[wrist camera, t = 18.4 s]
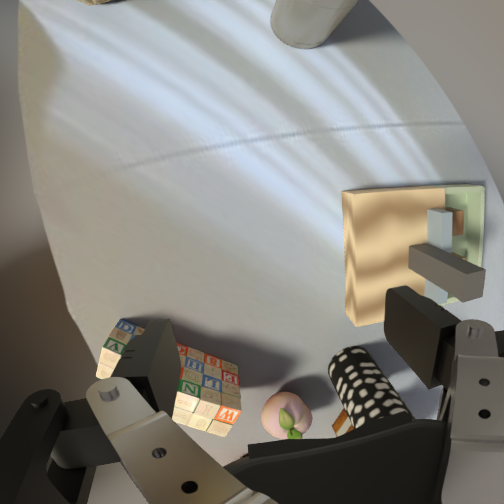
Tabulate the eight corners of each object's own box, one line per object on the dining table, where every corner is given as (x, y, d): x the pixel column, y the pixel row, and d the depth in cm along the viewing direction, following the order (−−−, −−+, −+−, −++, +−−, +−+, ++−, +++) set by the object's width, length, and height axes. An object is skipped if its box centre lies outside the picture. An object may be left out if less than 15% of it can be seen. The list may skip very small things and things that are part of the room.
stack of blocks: (111, 346, 50) (87, 387, 39) (120, 317, 49) (95, 356, 37) (224, 390, 54) (225, 438, 42) (239, 364, 53) (242, 412, 41)
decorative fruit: (248, 394, 54) (252, 432, 45) (287, 372, 54) (298, 409, 44) (275, 421, 57) (282, 458, 47) (311, 402, 56) (324, 438, 46)
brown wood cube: (446, 212, 44) (463, 210, 44) (432, 208, 48) (449, 207, 48) (446, 236, 45) (463, 234, 45) (432, 232, 49) (449, 229, 49)
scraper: (408, 210, 43) (469, 229, 29) (437, 208, 43) (499, 224, 30) (406, 299, 46) (456, 340, 33) (433, 293, 47) (485, 330, 33)
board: (341, 191, 47) (353, 193, 42) (427, 185, 47) (444, 187, 42) (345, 313, 52) (356, 326, 47) (424, 297, 52) (439, 307, 47)
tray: (427, 185, 47) (442, 187, 43) (468, 183, 48) (484, 186, 43) (424, 297, 52) (438, 306, 48) (463, 287, 53) (477, 295, 48)
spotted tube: (376, 365, 55) (425, 434, 36) (340, 390, 56) (377, 466, 37) (358, 337, 53) (409, 409, 34) (319, 364, 54) (355, 444, 35)
